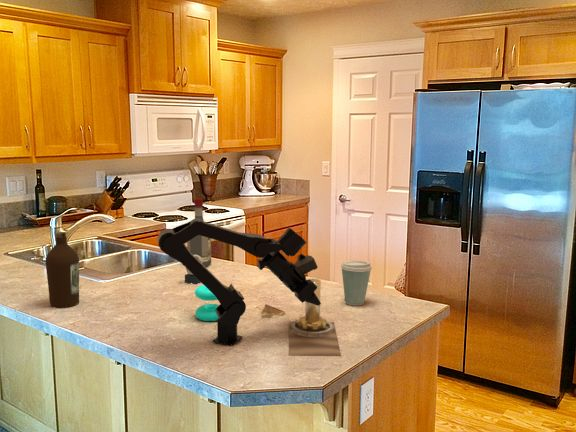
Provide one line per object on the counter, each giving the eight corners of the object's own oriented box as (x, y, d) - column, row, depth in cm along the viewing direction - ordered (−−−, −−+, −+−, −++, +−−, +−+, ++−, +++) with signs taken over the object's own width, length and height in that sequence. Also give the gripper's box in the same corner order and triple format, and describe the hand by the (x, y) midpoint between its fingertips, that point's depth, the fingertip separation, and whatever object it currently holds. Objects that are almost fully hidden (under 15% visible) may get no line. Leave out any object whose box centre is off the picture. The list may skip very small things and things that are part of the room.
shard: (265, 308, 188) (265, 303, 188) (287, 309, 187) (287, 304, 187) (260, 319, 178) (260, 313, 177) (283, 320, 177) (283, 314, 177)
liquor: (186, 267, 240) (184, 199, 236) (193, 262, 249) (192, 197, 245) (206, 268, 239) (205, 200, 234) (212, 263, 248) (211, 198, 243)
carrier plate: (341, 359, 146) (341, 351, 145) (288, 359, 146) (288, 351, 145) (333, 325, 171) (334, 318, 171) (289, 324, 171) (289, 317, 171)
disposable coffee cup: (333, 303, 193) (334, 261, 191) (352, 296, 201) (353, 256, 199) (358, 310, 186) (359, 267, 184) (376, 302, 194) (377, 261, 192)
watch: (205, 280, 220) (205, 253, 219) (193, 285, 213) (193, 257, 212) (194, 278, 223) (193, 252, 221) (181, 283, 216) (181, 256, 214)
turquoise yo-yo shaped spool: (230, 289, 174) (199, 293, 170) (230, 320, 175) (199, 324, 171) (221, 281, 183) (191, 284, 179) (221, 310, 184) (192, 314, 180)
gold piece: (329, 328, 161) (330, 284, 159) (301, 330, 160) (302, 285, 158) (322, 319, 169) (323, 276, 167) (296, 320, 168) (296, 277, 166)
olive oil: (42, 308, 184) (38, 235, 180) (55, 299, 195) (51, 229, 191) (75, 308, 184) (71, 235, 181) (85, 299, 195) (82, 230, 191)
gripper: (310, 254, 151) (347, 291, 155) (292, 241, 169) (325, 274, 173) (282, 284, 150) (320, 319, 155) (267, 267, 168) (301, 300, 172)
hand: (317, 301), depth 164 cm, fingers open, 5 cm apart
